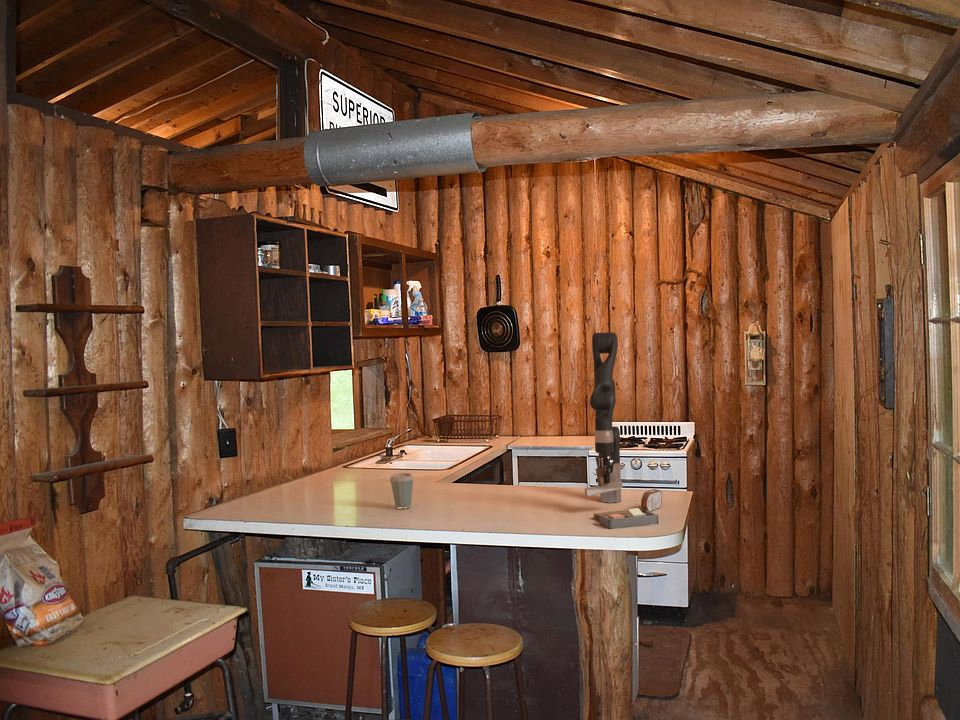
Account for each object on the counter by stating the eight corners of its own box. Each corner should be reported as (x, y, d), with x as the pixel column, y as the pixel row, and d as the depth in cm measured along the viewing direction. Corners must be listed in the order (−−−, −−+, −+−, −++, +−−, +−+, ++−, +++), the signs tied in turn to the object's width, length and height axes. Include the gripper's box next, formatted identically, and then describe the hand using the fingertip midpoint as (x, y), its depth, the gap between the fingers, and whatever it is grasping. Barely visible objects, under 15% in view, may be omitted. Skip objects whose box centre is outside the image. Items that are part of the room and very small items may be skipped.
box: (599, 523, 298) (599, 515, 298) (647, 519, 304) (647, 510, 304) (609, 529, 290) (609, 519, 290) (658, 524, 295) (658, 515, 295)
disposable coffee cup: (410, 510, 334) (409, 476, 334) (387, 510, 336) (386, 476, 336) (417, 505, 344) (416, 472, 344) (394, 505, 347) (393, 472, 346)
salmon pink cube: (608, 522, 299) (608, 514, 299) (618, 521, 300) (618, 513, 300) (613, 524, 294) (613, 517, 294) (624, 523, 296) (624, 516, 296)
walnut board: (593, 518, 309) (593, 513, 308) (632, 514, 313) (632, 509, 313) (603, 523, 299) (603, 518, 299) (643, 519, 303) (643, 514, 303)
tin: (657, 506, 327) (656, 487, 327) (663, 507, 325) (663, 487, 325) (640, 513, 316) (639, 492, 316) (647, 514, 314) (646, 493, 314)
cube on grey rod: (585, 495, 317) (581, 471, 316) (620, 487, 321) (616, 463, 320) (588, 496, 314) (583, 472, 313) (623, 488, 318) (619, 464, 317)
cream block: (626, 515, 302) (628, 509, 300) (636, 514, 303) (638, 507, 302) (632, 522, 298) (633, 515, 297) (642, 520, 299) (644, 514, 298)
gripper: (589, 439, 323) (590, 480, 323) (602, 443, 309) (603, 485, 309) (605, 438, 325) (606, 479, 325) (619, 442, 311) (620, 484, 311)
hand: (605, 482), depth 317 cm, fingers closed on cube on grey rod, 3 cm apart
